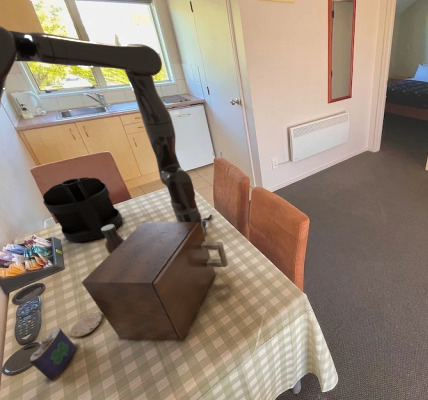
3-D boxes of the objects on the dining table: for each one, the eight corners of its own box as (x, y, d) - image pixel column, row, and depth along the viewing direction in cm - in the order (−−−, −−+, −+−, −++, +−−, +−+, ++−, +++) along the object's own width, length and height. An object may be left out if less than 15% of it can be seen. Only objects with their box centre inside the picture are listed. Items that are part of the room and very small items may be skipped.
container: (71, 250, 113) (38, 200, 100) (62, 229, 127) (32, 182, 114) (129, 227, 127) (107, 180, 114) (116, 210, 140) (94, 167, 128)
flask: (69, 346, 77) (49, 323, 71) (80, 345, 77) (61, 322, 72) (45, 381, 69) (21, 358, 64) (58, 379, 69) (35, 356, 64)
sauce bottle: (128, 276, 100) (105, 234, 90) (114, 274, 101) (90, 232, 91) (141, 264, 106) (121, 223, 95) (128, 262, 107) (107, 221, 97)
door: (233, 273, 100) (220, 222, 88) (206, 339, 78) (183, 283, 66) (212, 273, 101) (196, 222, 88) (179, 339, 78) (152, 283, 66)
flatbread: (85, 339, 79) (84, 337, 78) (64, 335, 80) (63, 333, 79) (109, 315, 85) (107, 313, 85) (89, 312, 87) (87, 310, 86)
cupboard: (212, 273, 101) (196, 222, 88) (179, 339, 78) (151, 283, 66) (165, 273, 101) (143, 222, 89) (119, 338, 79) (81, 282, 67)
